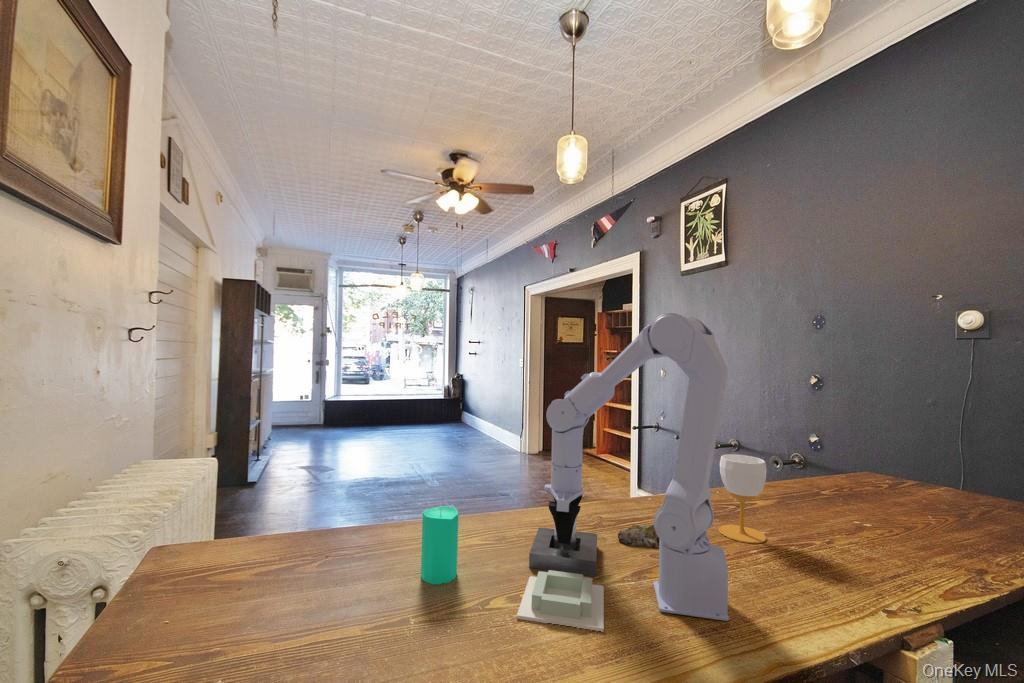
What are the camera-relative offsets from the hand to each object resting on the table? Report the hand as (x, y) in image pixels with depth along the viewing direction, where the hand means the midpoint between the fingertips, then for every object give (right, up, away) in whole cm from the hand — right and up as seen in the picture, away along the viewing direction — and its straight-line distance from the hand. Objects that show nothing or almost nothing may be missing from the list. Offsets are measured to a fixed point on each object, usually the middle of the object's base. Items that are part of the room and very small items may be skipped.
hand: (565, 537), depth 80 cm
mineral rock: (+17, -5, +8) cm, 19 cm away
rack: (-2, -3, -15) cm, 15 cm away
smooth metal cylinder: (0, -3, 0) cm, 3 cm away
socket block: (0, -4, 0) cm, 3 cm away
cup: (+39, -5, +12) cm, 41 cm away
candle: (-22, -3, -8) cm, 24 cm away
